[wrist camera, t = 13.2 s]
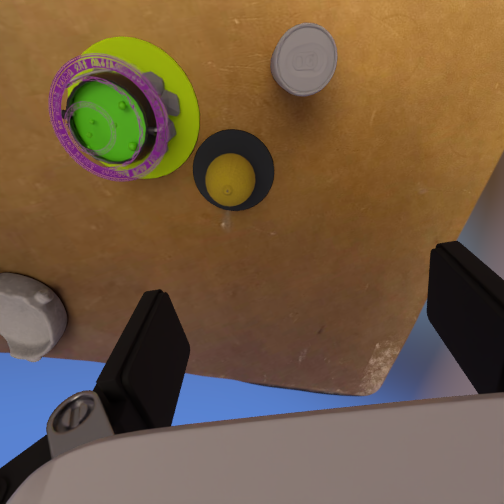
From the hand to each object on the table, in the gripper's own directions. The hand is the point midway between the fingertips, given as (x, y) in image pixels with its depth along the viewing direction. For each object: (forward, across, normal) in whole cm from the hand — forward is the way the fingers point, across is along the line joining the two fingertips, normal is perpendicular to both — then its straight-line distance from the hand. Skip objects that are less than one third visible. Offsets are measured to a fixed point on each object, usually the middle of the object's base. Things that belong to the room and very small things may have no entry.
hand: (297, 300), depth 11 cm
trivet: (+30, +5, +2) cm, 31 cm away
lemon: (+30, +5, +2) cm, 30 cm away
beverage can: (+31, -4, -7) cm, 32 cm away
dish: (+31, +43, +17) cm, 55 cm away
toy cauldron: (+31, +15, -6) cm, 35 cm away
